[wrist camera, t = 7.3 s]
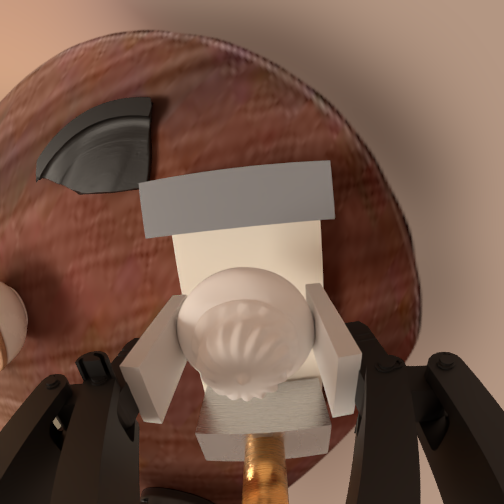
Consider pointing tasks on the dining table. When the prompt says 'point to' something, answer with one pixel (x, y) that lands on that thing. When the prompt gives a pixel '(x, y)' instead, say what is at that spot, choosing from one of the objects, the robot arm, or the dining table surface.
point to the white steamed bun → (245, 331)
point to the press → (245, 224)
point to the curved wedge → (102, 149)
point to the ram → (265, 435)
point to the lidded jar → (11, 324)
